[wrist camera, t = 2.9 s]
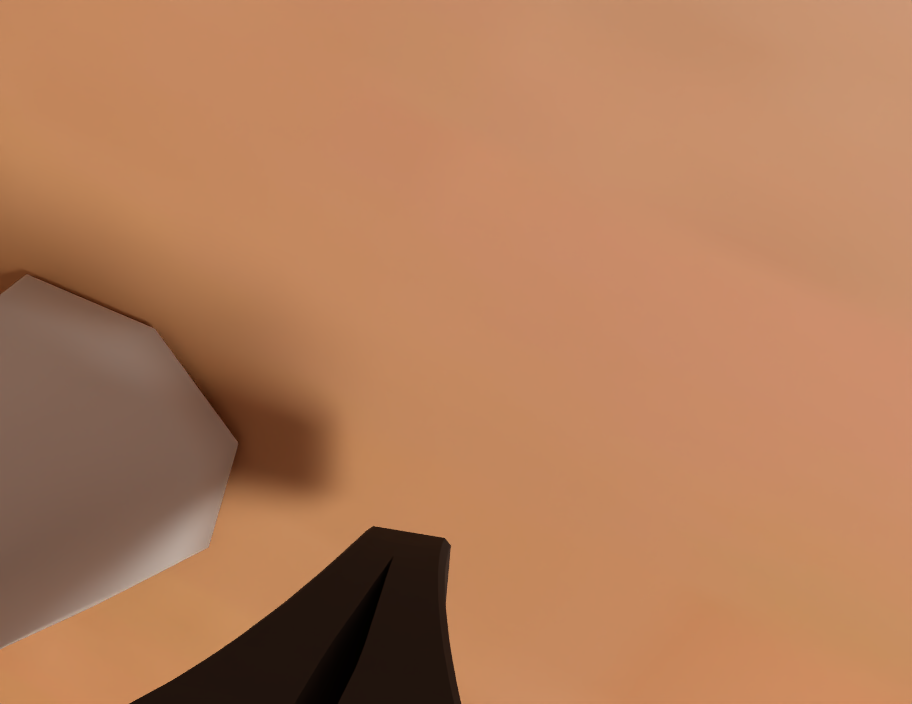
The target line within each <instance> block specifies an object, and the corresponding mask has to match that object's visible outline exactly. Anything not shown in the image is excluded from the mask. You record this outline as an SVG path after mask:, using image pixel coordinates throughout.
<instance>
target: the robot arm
mask: <svg viewBox="0 0 912 704" xmlns="http://www.w3.org/2000/svg"><path fill="white" fill-rule="evenodd" d="M450 548H451V545H450V544H449V543H448V541H447V540H446V539H445V538H441V537H435V536H429V535H423V534H417V533H411V532H405V531H399V530H393V529H387V528H381V527H375V526H373V527H371V528H370V529H368V530H367V531H366V532H365V533H364V534H362V535H361V536H360V537H359V538H358V539H357V540H356V541H355V542H354V543H353V544H352V545H350V546H349V547H348V548H347V549H346V550H345V551H344V552H343V553H342V554H341V555H340V556H338V557H337V558H336V559H335V560H334V561H333V562H332V563H331V564H329V565H328V566H327V567H326V568H325V569H324V570H323V571H322V572H320V573H319V574H318V575H317V576H316V577H314V578H313V579H312V580H311V581H310V582H308V583H307V584H306V585H305V586H304V587H303V588H301V589H300V590H299V591H298V592H297V593H295V594H294V595H293V596H292V597H291V598H289V599H288V600H287V601H286V602H284V603H283V604H282V605H281V606H279V607H278V608H277V609H275V610H274V611H273V612H271V613H270V614H269V615H267V616H266V617H265V618H263V619H262V620H261V621H259V622H258V623H257V624H255V625H254V626H253V627H251V628H250V629H249V630H247V631H246V632H245V633H243V634H242V635H241V636H239V637H238V638H236V639H235V640H234V641H232V642H231V643H229V644H228V645H226V646H225V647H223V648H222V649H221V650H219V651H218V652H216V653H215V654H213V655H211V656H210V657H208V658H207V659H205V660H204V661H202V662H201V663H199V664H198V665H196V666H194V667H193V668H191V669H190V670H188V671H186V672H185V673H183V674H182V675H180V676H178V677H177V678H175V679H173V680H172V681H170V682H168V683H166V684H165V685H163V686H161V687H159V688H157V689H155V690H154V691H152V692H150V693H148V694H146V695H144V696H143V697H141V698H139V699H137V700H135V701H133V702H132V703H130V704H461V701H460V696H459V692H458V687H457V682H456V677H455V671H454V666H453V661H452V655H451V648H450V642H449V634H448V624H447V615H446V594H447V582H448V571H449V559H450Z"/></svg>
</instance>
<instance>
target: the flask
mask: <svg viewBox="0 0 912 704" xmlns="http://www.w3.org/2000/svg"><path fill="white" fill-rule="evenodd" d="M237 447H238V442H237V440H236V439H235V438H234V436H233V435H232V433H231V432H230V431H229V429H228V428H227V427H226V425H225V424H224V423H223V421H222V420H221V418H220V417H219V416H218V414H217V413H216V412H215V410H214V409H213V408H212V406H211V405H210V403H209V402H208V401H207V399H206V398H205V397H204V395H203V394H202V392H201V391H200V390H199V388H198V387H197V386H196V384H195V383H194V382H193V380H192V379H191V377H190V376H189V375H188V373H187V372H186V371H185V369H184V368H183V366H182V365H181V364H180V362H179V361H178V360H177V358H176V357H175V356H174V354H173V353H172V351H171V350H170V349H169V347H168V346H167V345H166V343H165V342H164V341H163V339H162V338H161V336H160V335H159V334H158V332H157V331H156V330H155V329H154V328H152V327H150V326H147V325H145V324H143V323H140V322H138V321H136V320H133V319H131V318H129V317H126V316H124V315H122V314H119V313H117V312H114V311H112V310H110V309H107V308H105V307H103V306H100V305H98V304H96V303H93V302H91V301H89V300H86V299H84V298H82V297H79V296H77V295H75V294H72V293H70V292H67V291H65V290H63V289H60V288H58V287H56V286H53V285H51V284H49V283H46V282H44V281H42V280H39V279H37V278H35V277H32V276H30V275H28V274H26V275H25V276H23V277H22V278H21V279H19V280H18V281H17V282H16V283H14V284H13V285H12V286H11V287H9V288H8V289H7V290H5V291H4V292H3V293H2V294H0V649H2V648H4V647H6V646H8V645H10V644H12V643H15V642H17V641H19V640H21V639H23V638H26V637H28V636H30V635H32V634H34V633H36V632H39V631H41V630H43V629H45V628H47V627H49V626H52V625H54V624H56V623H58V622H60V621H63V620H65V619H67V618H69V617H71V616H73V615H76V614H78V613H80V612H82V611H84V610H86V609H89V608H91V607H93V606H95V605H97V604H99V603H101V602H103V601H105V600H107V599H109V598H111V597H113V596H115V595H117V594H119V593H121V592H123V591H125V590H127V589H128V588H130V587H132V586H134V585H136V584H138V583H140V582H142V581H144V580H146V579H148V578H150V577H152V576H154V575H156V574H158V573H160V572H162V571H163V570H165V569H167V568H169V567H171V566H173V565H175V564H177V563H179V562H181V561H183V560H185V559H187V558H189V557H191V556H193V555H195V554H197V553H198V552H200V551H202V550H204V549H206V548H208V547H209V544H210V541H211V537H212V534H213V530H214V527H215V523H216V520H217V517H218V513H219V510H220V506H221V503H222V499H223V496H224V492H225V489H226V485H227V482H228V478H229V475H230V471H231V468H232V464H233V461H234V457H235V454H236V450H237Z"/></svg>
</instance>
